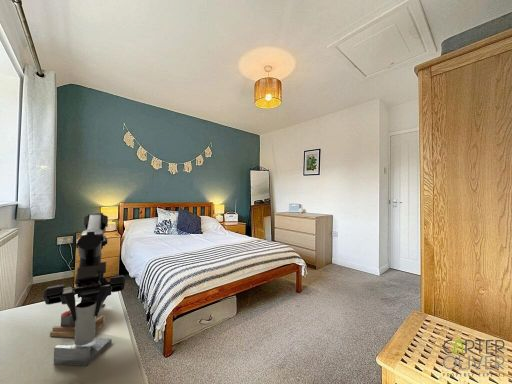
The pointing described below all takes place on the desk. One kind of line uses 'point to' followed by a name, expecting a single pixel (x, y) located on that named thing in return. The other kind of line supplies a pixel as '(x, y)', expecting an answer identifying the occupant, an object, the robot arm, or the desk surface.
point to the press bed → (80, 352)
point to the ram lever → (67, 319)
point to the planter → (85, 322)
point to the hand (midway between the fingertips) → (85, 318)
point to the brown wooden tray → (73, 329)
